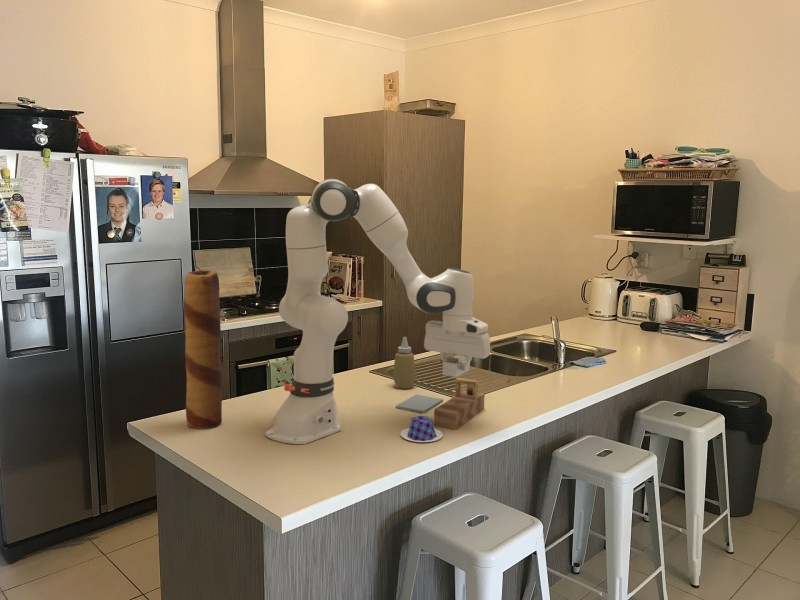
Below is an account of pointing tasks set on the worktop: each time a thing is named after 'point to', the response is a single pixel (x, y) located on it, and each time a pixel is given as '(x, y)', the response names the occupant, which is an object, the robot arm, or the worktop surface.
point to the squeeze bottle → (404, 366)
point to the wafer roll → (203, 349)
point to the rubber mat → (419, 403)
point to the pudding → (421, 430)
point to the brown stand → (460, 406)
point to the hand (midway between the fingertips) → (455, 368)
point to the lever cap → (454, 366)
